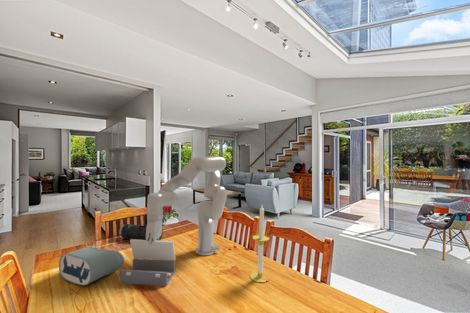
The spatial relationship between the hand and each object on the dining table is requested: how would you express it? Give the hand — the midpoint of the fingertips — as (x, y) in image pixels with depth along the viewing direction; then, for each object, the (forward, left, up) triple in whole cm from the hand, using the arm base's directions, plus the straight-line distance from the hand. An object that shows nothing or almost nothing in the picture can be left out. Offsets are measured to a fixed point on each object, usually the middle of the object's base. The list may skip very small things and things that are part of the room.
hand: (154, 251), depth 119 cm
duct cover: (0, +3, +2) cm, 3 cm away
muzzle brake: (+26, -38, -11) cm, 47 cm away
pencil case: (+29, +7, -10) cm, 31 cm away
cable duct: (0, +7, -10) cm, 12 cm away
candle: (-55, +1, -10) cm, 56 cm away
